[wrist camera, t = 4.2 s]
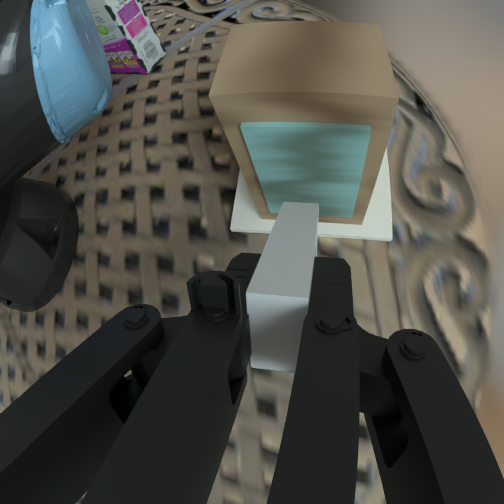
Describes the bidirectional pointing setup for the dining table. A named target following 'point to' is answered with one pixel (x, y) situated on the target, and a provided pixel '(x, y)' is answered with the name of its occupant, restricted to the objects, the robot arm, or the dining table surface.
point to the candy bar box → (126, 35)
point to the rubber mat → (372, 228)
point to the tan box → (307, 113)
